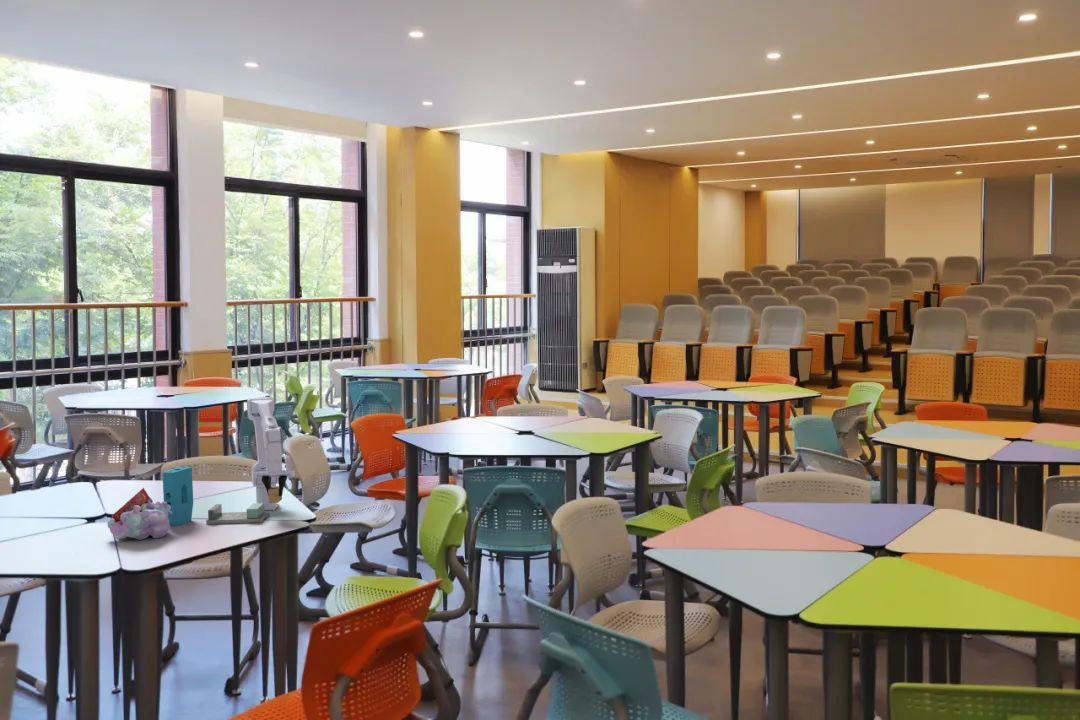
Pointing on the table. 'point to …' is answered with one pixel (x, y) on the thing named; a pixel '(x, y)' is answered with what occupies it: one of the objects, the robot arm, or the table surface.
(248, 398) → the robot arm
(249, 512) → the block
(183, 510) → the block
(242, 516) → the vise
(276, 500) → the walnut block
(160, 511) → the lumpy lavender blob
